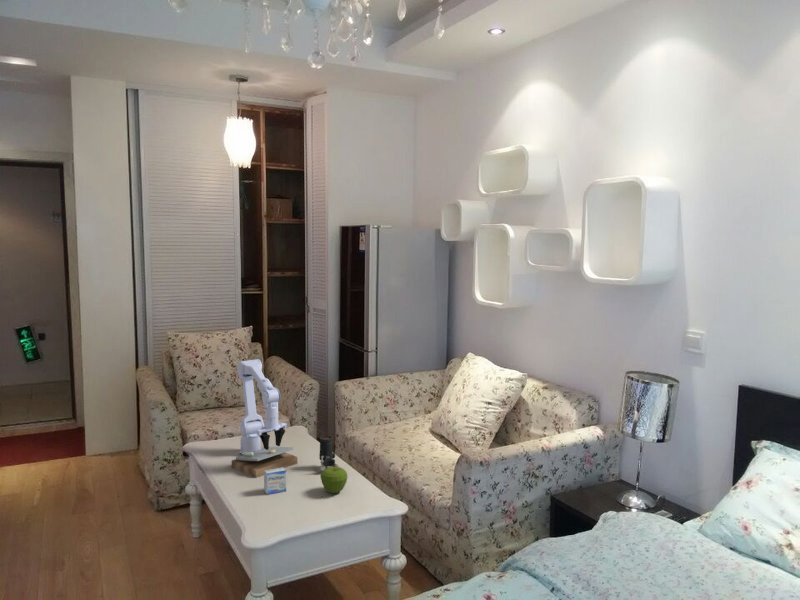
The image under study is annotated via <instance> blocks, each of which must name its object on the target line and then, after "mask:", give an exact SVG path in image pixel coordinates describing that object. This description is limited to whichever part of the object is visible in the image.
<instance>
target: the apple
mask: <svg viewBox="0 0 800 600" xmlns="http://www.w3.org/2000/svg"><path fill="white" fill-rule="evenodd" d="M348 478H349V477H348V472H347V470H346V469H344V468H343V467H340V466H338V467H328V468H327V469H325V470H323V472H322V471H321V474H320V480H321V484H322V486H323V488H324V490H325V491H326V492H328V493H330V494H339V493H340V492H341V491H343V489H345V486H346V484H347V481H348ZM338 492H339V493H338Z"/></svg>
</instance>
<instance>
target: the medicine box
mask: <svg viewBox="0 0 800 600" xmlns="http://www.w3.org/2000/svg"><path fill="white" fill-rule="evenodd" d="M263 482H264V483H263V488H264V489H263V491H264V492H265V493H266V495H273V494H278V493H283V491H284V492H287V469H286V468H283V467H281V468H276V469H270V470H264V475H263Z"/></svg>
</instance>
